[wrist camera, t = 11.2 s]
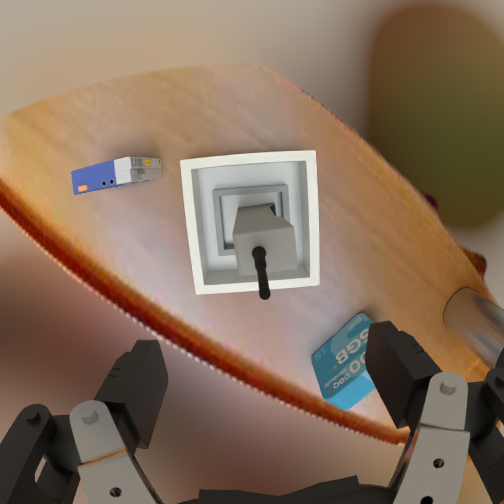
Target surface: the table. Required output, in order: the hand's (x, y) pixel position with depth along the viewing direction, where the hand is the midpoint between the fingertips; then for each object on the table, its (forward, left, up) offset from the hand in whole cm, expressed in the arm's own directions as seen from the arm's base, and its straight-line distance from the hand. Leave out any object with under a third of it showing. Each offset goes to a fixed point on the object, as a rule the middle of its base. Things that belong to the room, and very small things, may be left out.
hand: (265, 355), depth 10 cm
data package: (-14, +22, -32) cm, 41 cm away
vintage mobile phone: (-1, 0, -31) cm, 31 cm away
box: (0, 0, -32) cm, 32 cm away
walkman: (+16, -8, -32) cm, 37 cm away
